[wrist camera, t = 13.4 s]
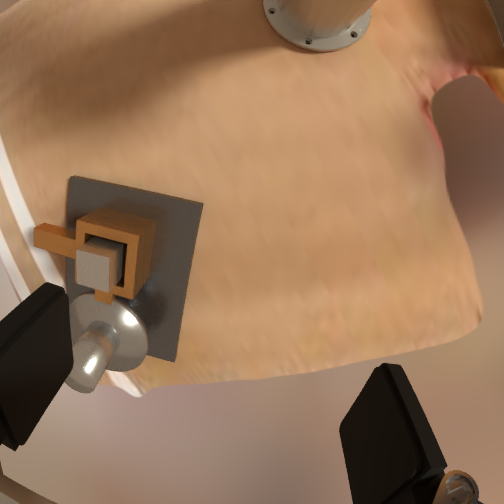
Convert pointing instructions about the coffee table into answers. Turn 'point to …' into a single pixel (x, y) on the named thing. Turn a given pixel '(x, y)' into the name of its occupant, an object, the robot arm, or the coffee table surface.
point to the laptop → (498, 15)
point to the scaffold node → (133, 282)
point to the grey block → (101, 263)
